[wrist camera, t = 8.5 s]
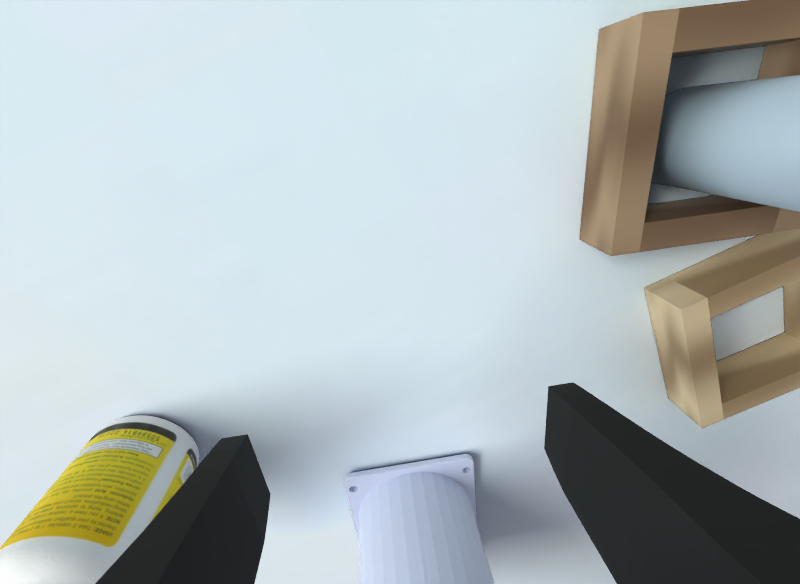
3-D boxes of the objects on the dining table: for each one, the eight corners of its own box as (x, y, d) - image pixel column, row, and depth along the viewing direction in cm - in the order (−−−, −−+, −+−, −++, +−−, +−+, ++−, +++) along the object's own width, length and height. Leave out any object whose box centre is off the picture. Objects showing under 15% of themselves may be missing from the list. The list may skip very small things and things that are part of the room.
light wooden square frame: (806, 338, 22) (856, 363, 20) (668, 398, 23) (701, 428, 21) (806, 212, 19) (867, 225, 17) (644, 287, 20) (681, 309, 17)
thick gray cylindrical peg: (705, 183, 18) (947, 226, 10) (626, 184, 17) (821, 229, 10) (737, 87, 16) (1052, 58, 9) (650, 85, 16) (905, 53, 8)
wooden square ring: (746, 215, 19) (799, 228, 16) (579, 239, 18) (610, 256, 16) (804, 5, 15) (884, -16, 13) (599, 29, 15) (643, 12, 12)
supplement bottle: (72, 435, 20) (-159, 688, 11) (159, 396, 19) (-7, 627, 11) (141, 495, 22) (-3, 746, 13) (222, 462, 22) (128, 697, 13)
